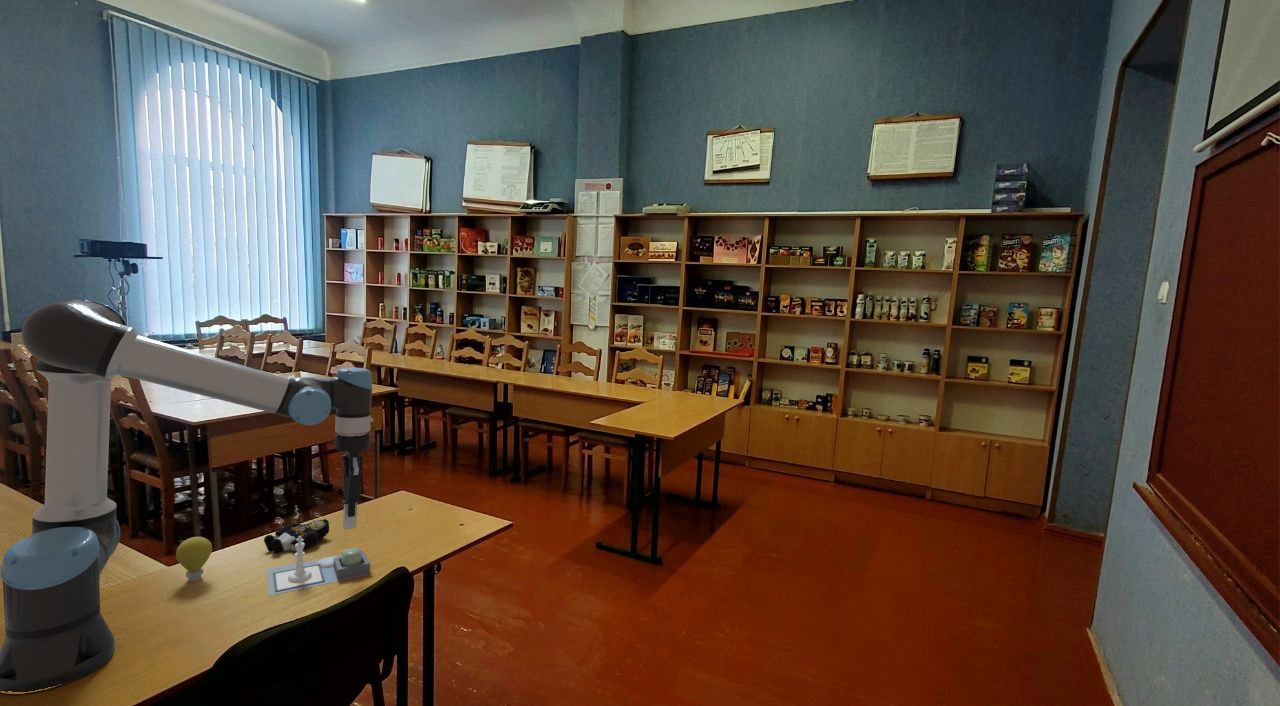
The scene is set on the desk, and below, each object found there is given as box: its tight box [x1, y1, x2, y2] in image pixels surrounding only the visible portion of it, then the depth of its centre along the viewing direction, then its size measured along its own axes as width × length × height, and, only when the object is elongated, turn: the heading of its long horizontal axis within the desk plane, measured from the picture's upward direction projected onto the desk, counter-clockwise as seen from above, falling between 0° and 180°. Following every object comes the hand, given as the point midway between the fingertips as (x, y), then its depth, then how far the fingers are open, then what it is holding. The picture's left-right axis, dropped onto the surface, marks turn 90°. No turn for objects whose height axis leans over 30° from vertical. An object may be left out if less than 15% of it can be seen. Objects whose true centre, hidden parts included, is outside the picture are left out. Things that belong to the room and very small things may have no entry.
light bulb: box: [175, 536, 213, 583], centre depth 131 cm, size 7×7×10 cm
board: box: [266, 551, 371, 597], centre depth 137 cm, size 20×14×3 cm
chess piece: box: [288, 536, 312, 582], centre depth 133 cm, size 5×5×10 cm
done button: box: [341, 547, 363, 567], centre depth 138 cm, size 4×4×4 cm
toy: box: [263, 518, 330, 554], centre depth 152 cm, size 12×8×15 cm
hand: (349, 527), depth 137 cm, fingers closed
